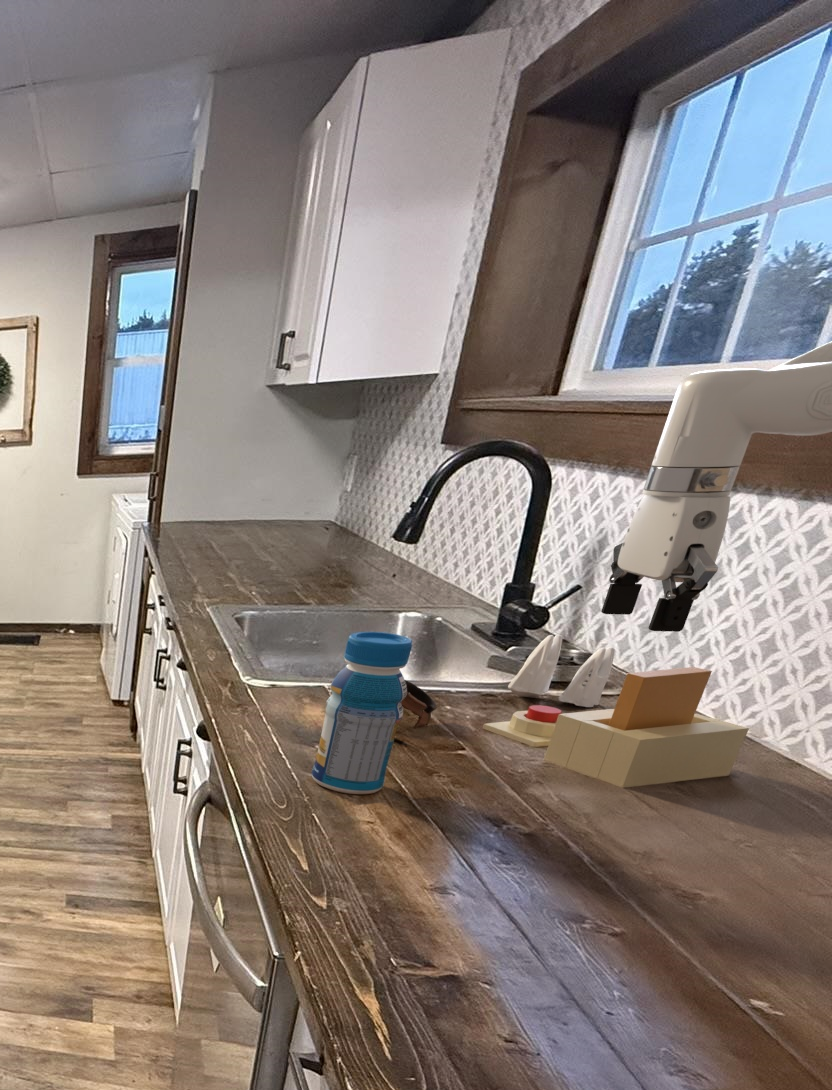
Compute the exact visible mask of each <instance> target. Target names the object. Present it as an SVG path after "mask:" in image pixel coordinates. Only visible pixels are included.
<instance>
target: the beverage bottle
mask: <svg viewBox="0 0 832 1090" xmlns="http://www.w3.org/2000/svg"><path fill="white" fill-rule="evenodd" d="M346 641H347V642H346V646H345V649H344V650H345V651H344V655H343V656H344V661H345V662H346V663H347V665H345V666H343V668H342V669H341V670H340V671H339V672H338V673H337V674H336V675H335V677H334V678H333V680H332V682H331V684H330V691H331V695H330V696H329V697H328V698H327V700H326V702H325V705H324V713H325V715H324V719H323V725H322V730H321V734H320V739H319V744H318V748H317V751H316V752H317V753H316V757H315V761H314V763H313V767H312V770H311V779H312V781H314V782H315V783H316V784H317V785H319V786H321V787H323V788H325V789H328V790H331V791H334V792H338V793H344V794H351V795H370V794H374V793H377V792H379V791H381V790H382V788H383V786H384V783H385V779H386V771H387V767H388V764H389V760H390V756H391V753H392V749H393V745H394V741H395V737H396V735H397V731H398V726H399V724H400V723H401V721H402V719H403V715H404V707H403V706H402V705H401V702H402V700H403V699H405V697H406V696H407V686H406V682H405V680H406V679H405V677H404V675H403V673H402V670H400V669H404V668H405V667H406V666H407V664H408V663H409V659H410V655H411V651H412V647H413V640H412V639H411V638H409V637H407V636H404V635H401V634H396V633H390V632H381V631H359V632H353V633H351V634H350V635H349V637H348V638H347V640H346Z"/></svg>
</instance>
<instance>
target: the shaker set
mask: <svg viewBox="0 0 832 1090" xmlns="http://www.w3.org/2000/svg"><path fill="white" fill-rule="evenodd" d="M562 645H563V635H561V634H559V633H557V634H555V636H554V634H549V635H547V636H546V637H545V638H544V639H542V641H541V642H540V643H539V644H537V646H536V647H535V648H534V650H532V652H531V653H530V654H529V656H528V657H527V658H526V659H525V662H524V664H523V666H522V667H521V669H520V670H518V672H517V674H516V675H515V676H514V678H513V679H512V680H511V681H510V682H509V683H508V686H507V689H509V690H510V692H511V693H512V694H514V695H516V696H519V697H524V698H539V697H540V696H541V695H543V694H546V693H548V691H549V690H550V685H551V683H552V680H553V676H554V672H555V670H556V667H557V665H558V662H559V658H560V655H561V649H562ZM615 650H616V649H615V648H614V647H612V646H609V647H607V648H606V647H600V648H598V649H597V650H596V651H595V652H594V653H592V654H591V655H590V656H589V657H588V658H587V659H586V661H585V662H584V663H583V664H582V665H580V667H579V668H578V669H577V671H576V673H575V674H574V676H573V678H572V679H571V682H570V683H569V684H568V686H567V687H565V689H564V690H563V692H561V694H560V695H559V696H558V697H557V699H556V700H557V701H559V702H562V703H569V704H574V705H575V706H578V707H585V708H592V707H593V708H594V706H599V704H600V702H601V701H600V700H601V698H602V695H603V692H604V689H605V686H606V683H607V682H608V680H609V678H610V675H611V671H612V668H613V663H614V658H615Z"/></svg>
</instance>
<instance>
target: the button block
mask: <svg viewBox="0 0 832 1090" xmlns="http://www.w3.org/2000/svg"><path fill="white" fill-rule="evenodd" d="M527 712H528V710H517V711H515V712H513V713H512V715H511V719H510V720H508V721H499V722H498V721H497V722H487V723H483V725H482V729H483V730H486V731H488V732H491V733H494V734H497V735H500V736H503V737H505V738H508V739H510V740H513V741H516V742H518V743H521V744H524V745H527V746H530V747H533V748H539V747H548V745H549V742H550V739H551V736H552V733H553V730H554V727H555V725H556V723H548V722H540V721H534V720H531V719H528V718H526V715H527Z"/></svg>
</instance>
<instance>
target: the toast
mask: <svg viewBox="0 0 832 1090" xmlns="http://www.w3.org/2000/svg"><path fill="white" fill-rule="evenodd" d="M712 673H713V671H712V670H709V669H705V668H701V667H696V666H690V667H678V668H670V669H669V668H668V669H667V668H666V669H659V670H658V669H657V670H647V671H638V672H637V671H636V672H627V674H626V676H625V678H624V682H623V685H622V688H621V691H620V692H619V696H618V698H617V701H616V704H615V707H614V708H613V709H614V712H613V715H612V717H611V720H610V723H609V726H611V727H614V728H617V729H621V730H624V731H627V730H636V729H646V728H655V727H665V726H674V725H684V724H691V722H692V719H693V717H694V714H696V712H697V710H698V707H699V705H700V702H701V699H702V697H703V695H704V692H705V689H706V688H707V684H708V682H709V679H710V678H711V675H712Z"/></svg>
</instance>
